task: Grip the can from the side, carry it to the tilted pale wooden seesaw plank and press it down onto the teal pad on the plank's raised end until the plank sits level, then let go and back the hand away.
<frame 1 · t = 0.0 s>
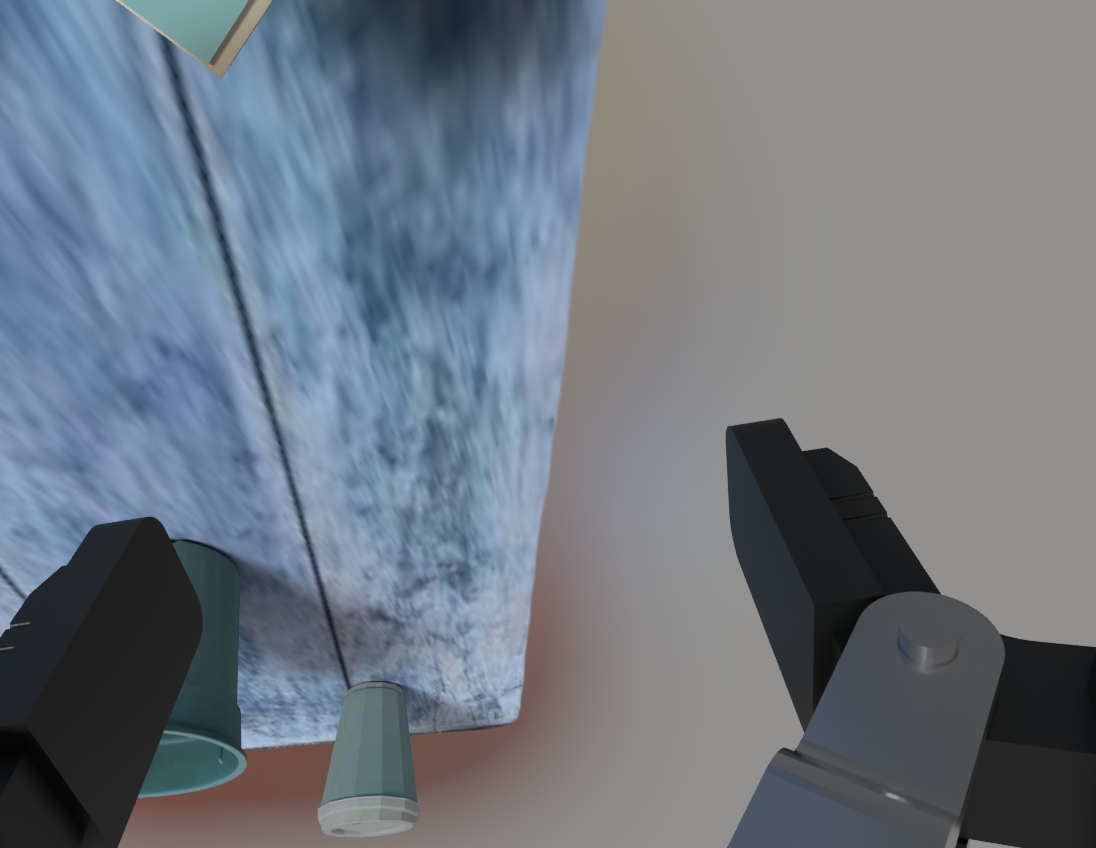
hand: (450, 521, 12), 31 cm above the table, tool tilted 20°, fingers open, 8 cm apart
disposable coffee cup: (372, 690, 97), on the table
flower pot: (166, 570, 72), on the table
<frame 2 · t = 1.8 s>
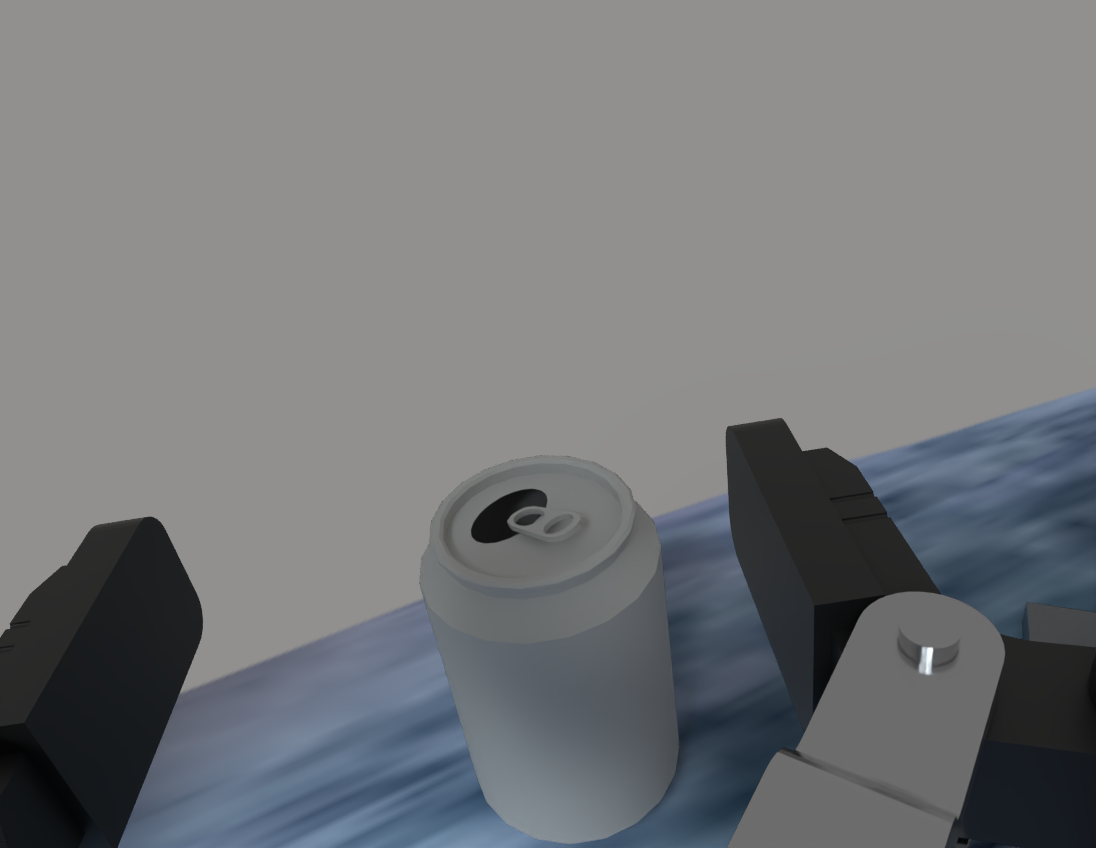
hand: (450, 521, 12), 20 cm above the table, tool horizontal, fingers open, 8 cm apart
can: (579, 765, 32), on the table
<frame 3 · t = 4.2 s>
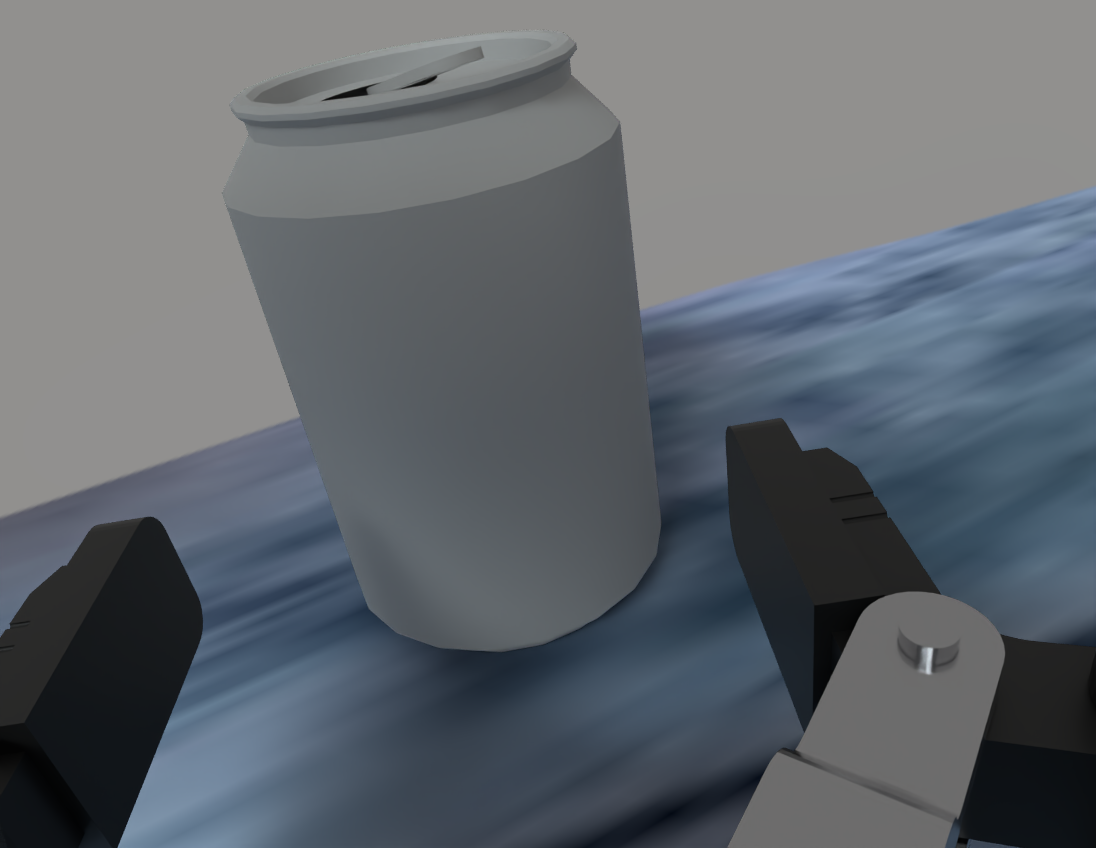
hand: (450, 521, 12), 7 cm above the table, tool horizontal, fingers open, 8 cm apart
can: (515, 569, 21), on the table
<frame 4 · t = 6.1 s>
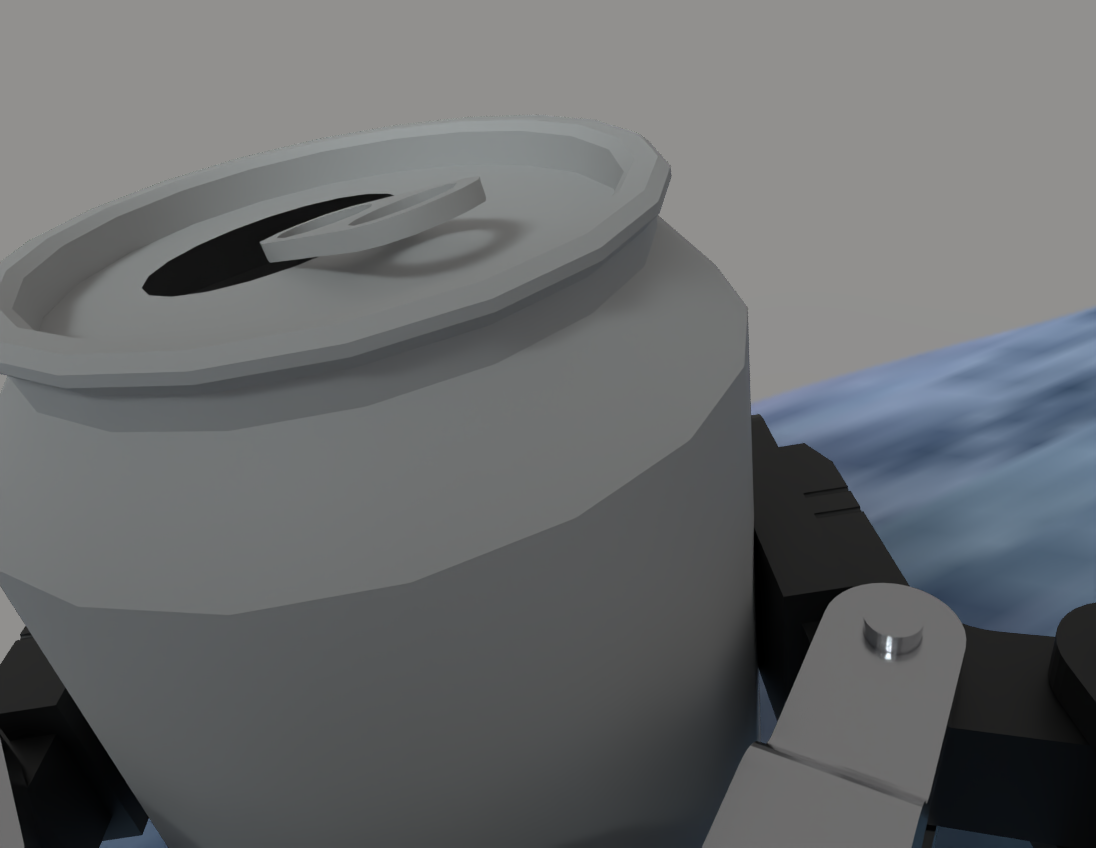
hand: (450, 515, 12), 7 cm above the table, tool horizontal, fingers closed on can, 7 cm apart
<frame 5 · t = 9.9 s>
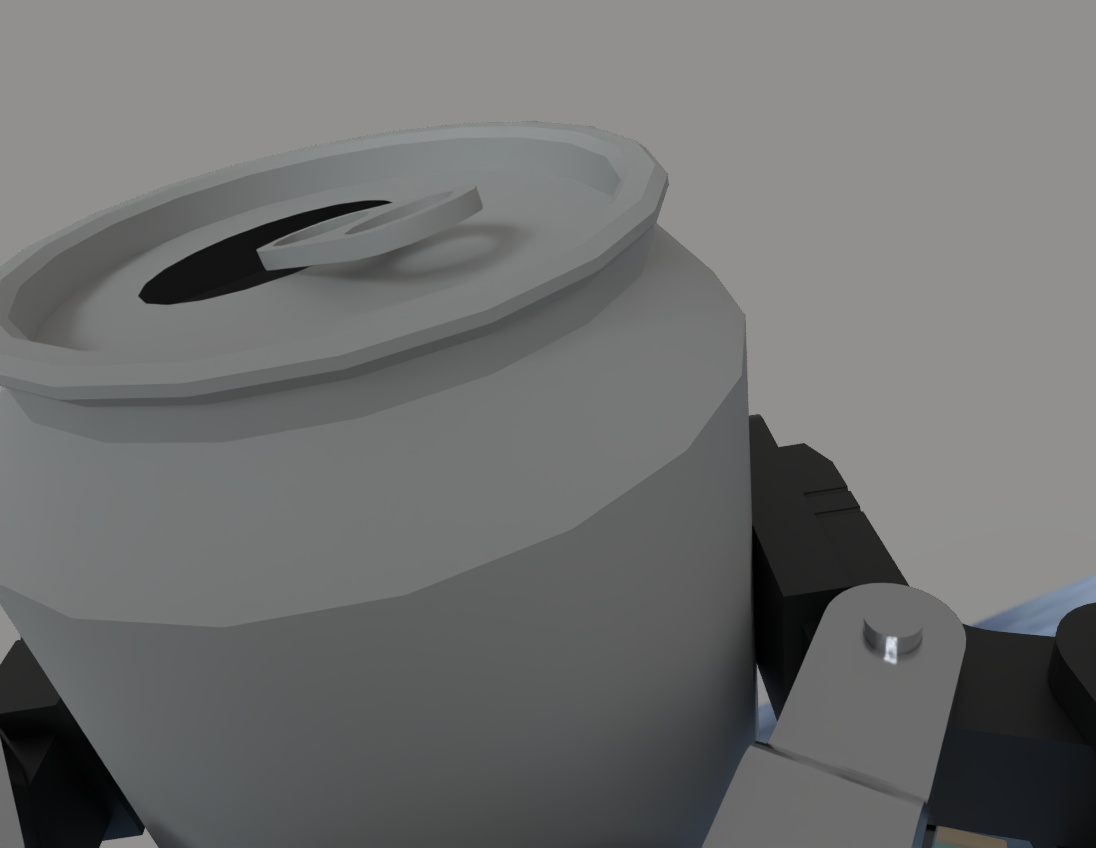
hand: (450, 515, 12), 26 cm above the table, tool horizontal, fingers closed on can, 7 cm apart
when the fingers open (17 cm above the table, at t = 13.5 s): can stays where it is, resting on beam.
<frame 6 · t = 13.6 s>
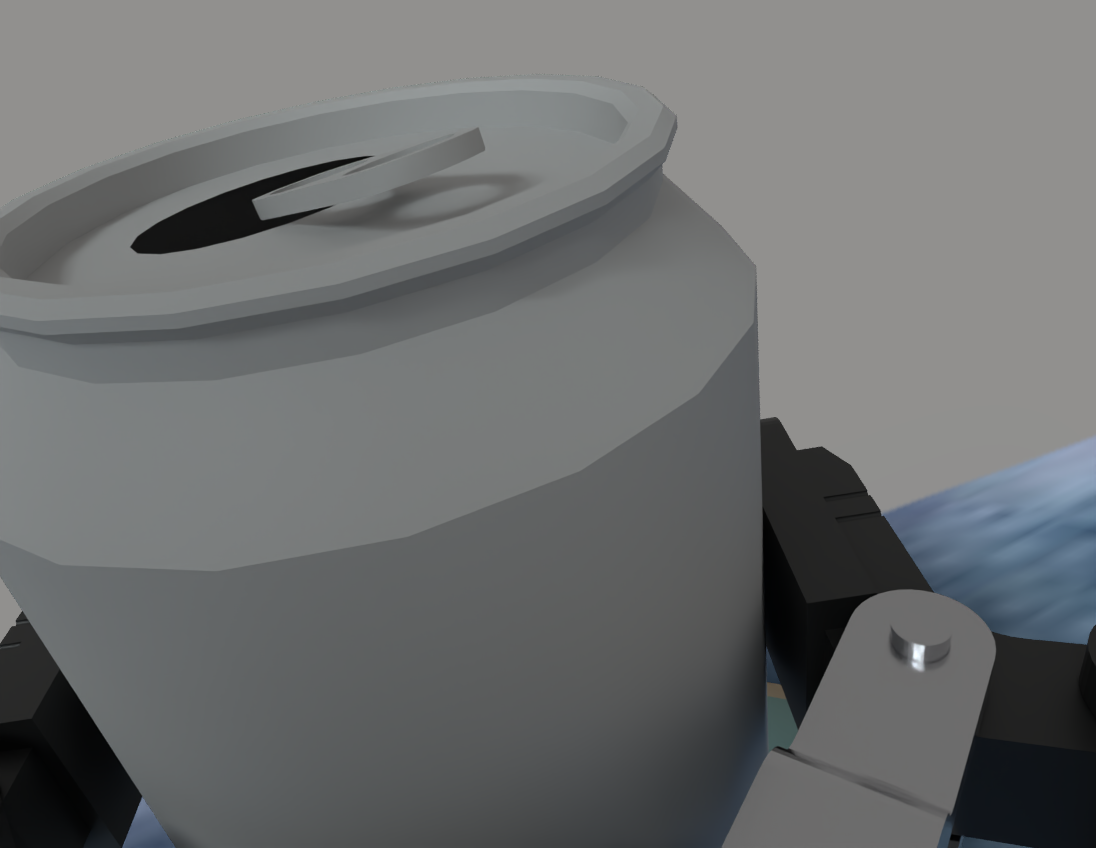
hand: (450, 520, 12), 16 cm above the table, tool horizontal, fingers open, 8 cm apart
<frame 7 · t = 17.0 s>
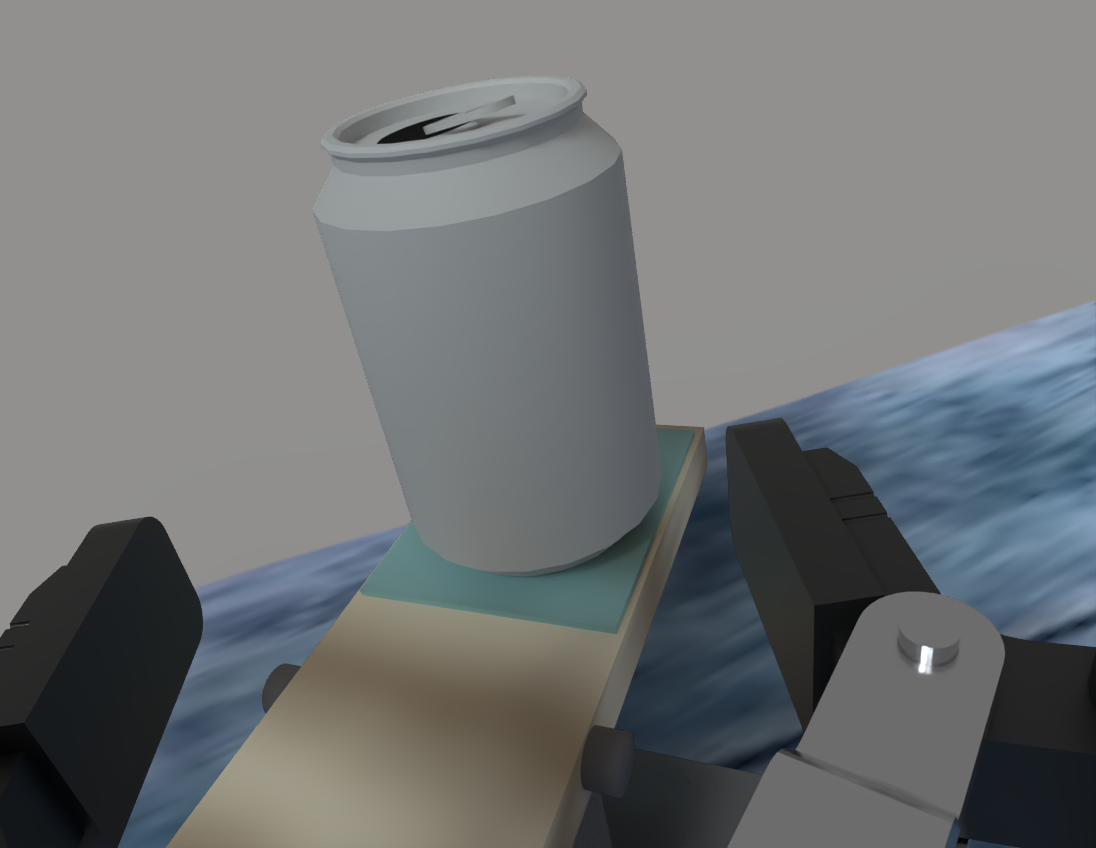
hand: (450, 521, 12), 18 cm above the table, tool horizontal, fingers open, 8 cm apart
beam: (427, 738, 20), point 9 cm above the table, hinge at -0.6°, touching can
can: (541, 515, 26), point 10 cm above the table, touching beam
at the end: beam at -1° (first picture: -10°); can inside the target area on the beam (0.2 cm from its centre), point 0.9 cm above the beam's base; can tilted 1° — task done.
